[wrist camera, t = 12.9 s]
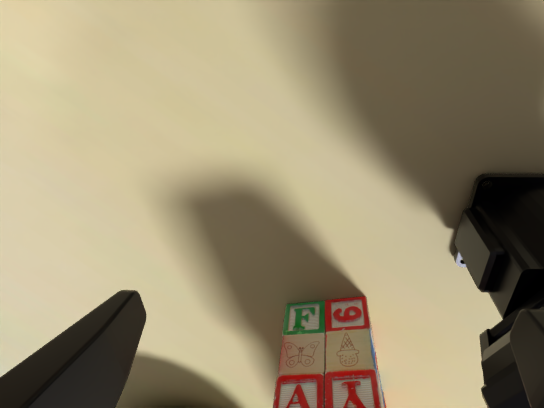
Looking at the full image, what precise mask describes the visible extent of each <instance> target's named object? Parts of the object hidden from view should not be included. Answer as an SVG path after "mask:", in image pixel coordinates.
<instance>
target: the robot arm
mask: <svg viewBox="0 0 544 408" xmlns="http://www.w3.org/2000/svg"><path fill="white" fill-rule="evenodd" d="M486 181H489V183H488V184H487V185H484V186H482V184H483V183H484V182H486ZM455 245H456V247H457V248H456V252H455V256H454V260H455V262H456V264H457V265H458V266H460V267H467V269H468V271H469V273H470V275H471V276H472V278H473V280H474V282H475V284H476V286H477V288H478V289H479V290H480V291H481V292H488V293H489V295H490V296H491V298H492V300H493V302H494V304H495V306H496V307H497V309H498V311H499V313H500V315H501V317H502V319H503V320H502V321H501V322H499V323H498V324H497V325H495V326H494V327H493V328H492V329H487V330H485V331H484V332H483V333H482V334H480V345H481V356H482V361H481V364H482V369H483V377H484V386H483V387H482V388H481V391H482V396H483V399H484V401H485V403H486V405H487V407H488V408H544V174H482V175H480V176H479V177H478V178H477V179H476V180H475V183H474V186H473V190H472V194H471V197H470V201H469V205H468V208H466V209H465V210H464V211H463V214H462V217H461V221H460V225H459V228H458V232H457V236H456V240H455ZM461 259H463V260H461ZM145 322H146V311H145V308H144V305H143V303H142V300H141V297H140V294H139V293H138V292H137V291H135V290H121V291H119V292H117V293H116V294H115V295H113V296H112V297H111V298H109V299H108V300H106V301H105V302H104V303H102V304H101V305H99V306H98V307H97V308H95V309H94V310H93V311H91V312H90V313H88V314H87V315H86V316H84V317H83V318H82V319H80V320H79V321H77V322H76V323H75V324H73V325H72V326H71V327H69V328H68V329H66V330H65V331H64V332H62V333H61V334H59V335H58V336H57V337H55V338H54V339H53V340H51V341H50V342H48V343H47V344H46V345H44V346H43V347H42V348H40V349H39V350H37V351H36V352H35V353H33V354H32V355H30V356H29V357H28V358H26V359H25V360H24V361H22V362H21V363H19V364H18V365H17V366H15V367H14V368H13V369H11V370H10V371H8V372H7V373H6V374H4V375H3V376H1V377H0V408H115V407H116V405H117V402H118V400H119V398H120V395H121V393H122V391H123V388H124V386H125V383H126V381H127V378H128V375H129V372H130V370H131V366H132V363H133V360H134V357H135V354H136V350H137V347H138V344H139V341H140V338H141V335H142V331H143V328H144V325H145Z"/></svg>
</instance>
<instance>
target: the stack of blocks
mask: <svg viewBox="0 0 544 408" xmlns="http://www.w3.org/2000/svg"><path fill="white" fill-rule="evenodd" d="M282 337H283V341H282V348H281V355H280V362H279V372H278V373H279V376H278V377H277V379H276V386H275V395H274V403H273V408H386V403H385V398H384V393H383V392H382V387H381V381H380V376H379V371H378V366H377V359H376V352H375V346H374V340H373V333H372V327H371V321H370V315H369V309H368V304H367V298H366V297H365V296H363V297H353V298H343V299H333V300H325V301H318V302H307V303H296V304H287V305H286V310H285V317H284V324H283V330H282Z"/></svg>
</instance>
